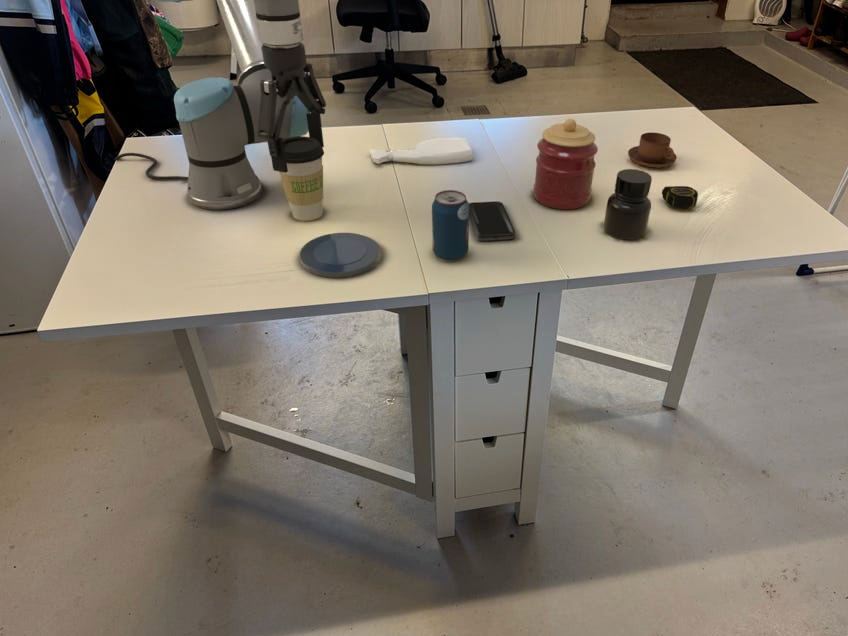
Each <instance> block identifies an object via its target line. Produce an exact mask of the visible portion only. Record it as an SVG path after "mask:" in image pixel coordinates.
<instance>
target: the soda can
mask: <svg viewBox="0 0 848 636" xmlns="http://www.w3.org/2000/svg"><path fill="white" fill-rule="evenodd" d="M469 203H470V202H468V199H467V195H466V194H465V193H464V192H461V191H460V190H459V191H458V190H453V189H450V190H449V189H447V190H441V191H439V192H437V193H436V194H435V196H434V200H433V201H432V204H431V238H432V241H431V244H432V251H433V253H434V255H435V256H436V258H438V259H439V260H441V261H443V262H451V263H452V262H453V263H454V262H459V261H460V260H462V259H464V257H465V256H466V255H467V253H468V251H469V243H470V242H469V241H470V238H469V236H470V216H469Z"/></svg>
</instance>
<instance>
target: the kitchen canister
mask: <svg viewBox="0 0 848 636" xmlns="http://www.w3.org/2000/svg"><path fill="white" fill-rule="evenodd" d="M576 122H577V121H576V120H575V119H573V118H568V119H565V121H564V122H563V123H562V122H561V123H556V124H553V125H550V127H548V128H546V129H544V130H543V131H542V134H541V135H542V138H541V139H539V140H538V142H537V143H536V145H537V149H538V155H537V156H536V158H535V162H536V165H535V166H536V167H535V179H534V183H533V196H534V199H535V200H536V201H537V202H538V203H540V204H541V205H544V206H545V207H548V208H552V209H556V210H557V209H558V210H573V209H579V208H582V207H584V206H586V205H587V204H588V203H589V202H590V198H591V196H592V191H593V189H592V186H593V180H594V173H595V168H596V166H597V165H596V161H595V156H596V154H597V153H598V152H599V151H598V150H599V149H598V146H597V144H596V143H595V141H596V136H595V133H593V132H592V131H591V130H590V129H588V128H587V127H585V126H584V125H581V124H577V123H576Z"/></svg>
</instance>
